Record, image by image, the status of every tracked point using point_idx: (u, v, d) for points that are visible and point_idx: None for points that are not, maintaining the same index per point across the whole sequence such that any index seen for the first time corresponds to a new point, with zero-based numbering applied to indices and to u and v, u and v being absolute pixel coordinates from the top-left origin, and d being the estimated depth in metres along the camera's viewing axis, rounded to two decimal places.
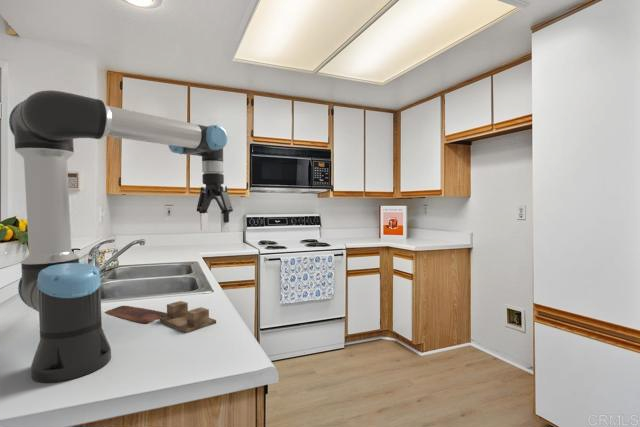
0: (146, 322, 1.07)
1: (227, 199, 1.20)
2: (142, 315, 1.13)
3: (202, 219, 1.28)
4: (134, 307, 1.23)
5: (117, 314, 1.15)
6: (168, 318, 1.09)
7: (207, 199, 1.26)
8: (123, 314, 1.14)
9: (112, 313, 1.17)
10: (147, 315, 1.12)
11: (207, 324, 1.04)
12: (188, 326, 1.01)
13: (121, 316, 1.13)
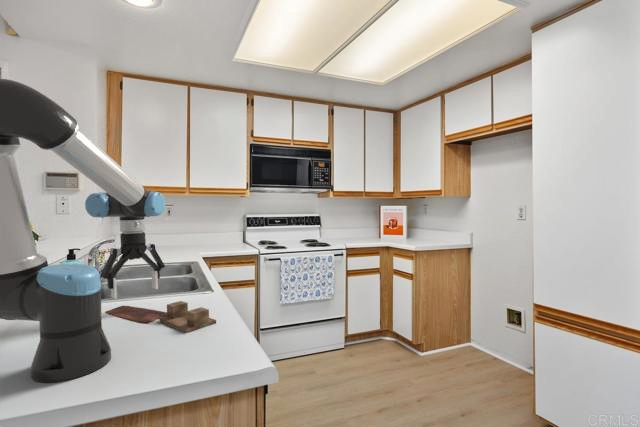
0: (147, 322, 1.07)
1: (107, 264, 1.10)
2: (143, 314, 1.13)
3: (152, 277, 1.23)
4: (134, 307, 1.23)
5: (118, 314, 1.15)
6: (168, 318, 1.09)
7: (142, 257, 1.20)
8: (124, 314, 1.14)
9: (113, 313, 1.17)
10: (148, 315, 1.13)
11: (207, 324, 1.04)
12: (188, 326, 1.01)
13: (122, 316, 1.13)
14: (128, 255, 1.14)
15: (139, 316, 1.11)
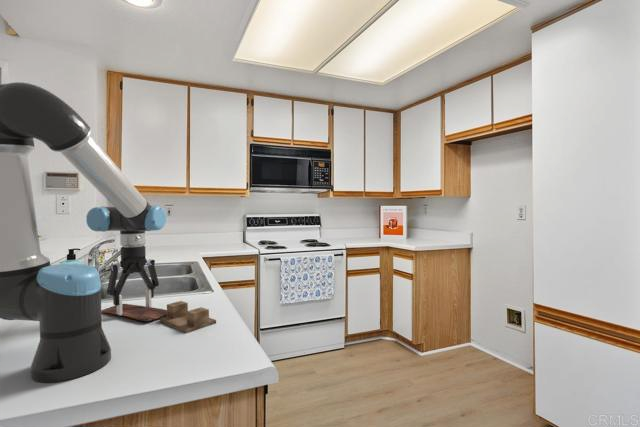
0: (147, 319, 1.07)
1: (110, 281, 1.11)
2: (142, 312, 1.12)
3: (146, 295, 1.21)
4: (133, 305, 1.22)
5: None
6: (168, 318, 1.09)
7: (139, 272, 1.19)
8: (123, 311, 1.14)
9: (111, 311, 1.16)
10: (147, 312, 1.12)
11: (207, 324, 1.04)
12: (188, 326, 1.01)
13: None
14: (129, 269, 1.14)
15: (138, 313, 1.11)
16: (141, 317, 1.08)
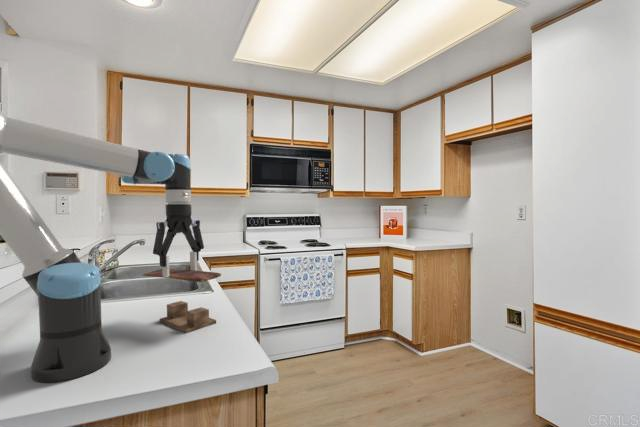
0: (200, 279, 0.99)
1: (157, 239, 1.02)
2: (191, 274, 1.04)
3: (190, 258, 1.12)
4: None
5: (162, 274, 1.06)
6: (168, 318, 1.09)
7: (184, 233, 1.10)
8: None
9: (155, 274, 1.07)
10: (197, 274, 1.04)
11: (207, 324, 1.04)
12: (188, 326, 1.01)
13: None
14: (175, 228, 1.05)
15: (188, 275, 1.02)
16: (193, 278, 0.99)
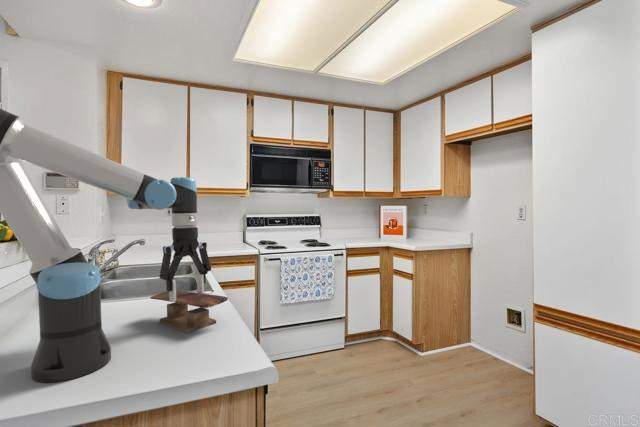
0: (206, 305, 0.98)
1: (164, 264, 1.01)
2: (198, 298, 1.03)
3: (197, 281, 1.11)
4: None
5: None
6: (168, 318, 1.09)
7: (191, 256, 1.09)
8: (176, 298, 1.04)
9: (162, 297, 1.07)
10: (204, 298, 1.03)
11: (207, 324, 1.04)
12: (188, 326, 1.01)
13: None
14: (182, 252, 1.04)
15: (194, 300, 1.01)
16: (199, 303, 0.99)
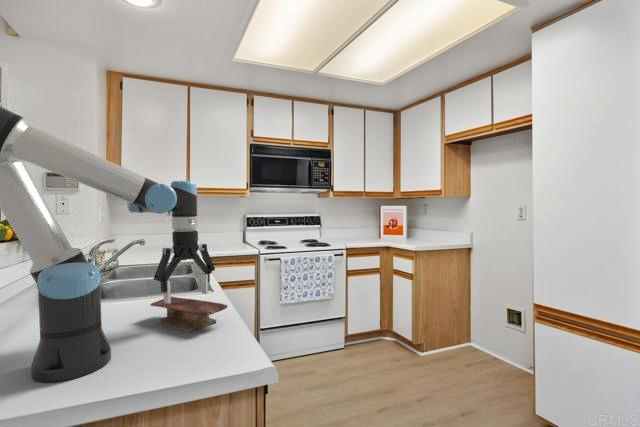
0: (205, 313, 0.98)
1: (161, 265, 1.00)
2: (197, 306, 1.03)
3: (201, 280, 1.13)
4: (183, 298, 1.13)
5: (169, 305, 1.05)
6: (168, 318, 1.09)
7: (193, 258, 1.10)
8: (176, 305, 1.04)
9: (162, 304, 1.07)
10: (203, 306, 1.03)
11: (207, 324, 1.04)
12: (188, 326, 1.01)
13: (174, 307, 1.03)
14: (181, 255, 1.04)
15: (194, 307, 1.01)
16: (198, 311, 0.98)
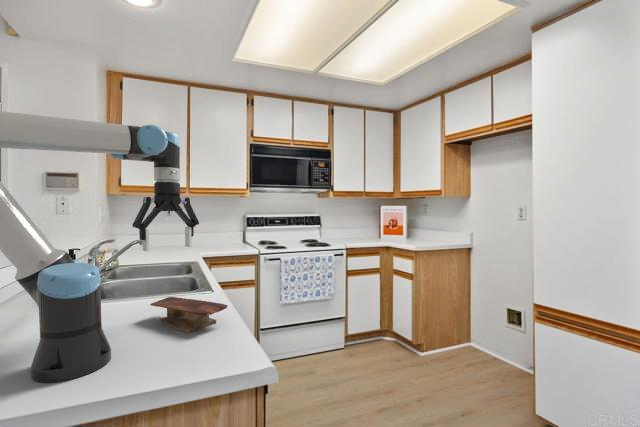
0: (205, 313, 0.98)
1: (140, 212, 1.01)
2: (197, 306, 1.03)
3: (185, 234, 1.13)
4: (183, 298, 1.13)
5: (169, 305, 1.05)
6: (168, 318, 1.09)
7: (176, 211, 1.10)
8: (176, 305, 1.04)
9: (162, 304, 1.07)
10: (203, 306, 1.03)
11: (207, 324, 1.04)
12: (188, 326, 1.01)
13: (174, 307, 1.03)
14: (162, 205, 1.04)
15: (194, 307, 1.01)
16: (198, 311, 0.98)
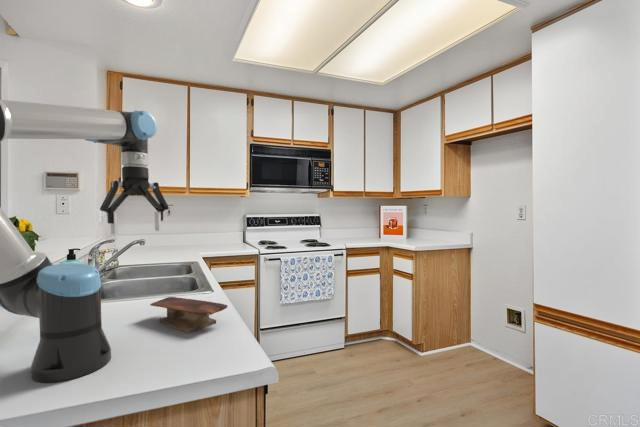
0: (205, 313, 0.98)
1: (107, 196, 1.03)
2: (197, 306, 1.03)
3: (155, 218, 1.15)
4: (183, 298, 1.13)
5: (169, 305, 1.05)
6: (168, 318, 1.09)
7: (145, 196, 1.12)
8: (176, 305, 1.04)
9: (162, 304, 1.07)
10: (203, 306, 1.03)
11: (207, 324, 1.04)
12: (188, 326, 1.01)
13: (174, 307, 1.03)
14: (130, 189, 1.06)
15: (194, 307, 1.01)
16: (198, 311, 0.98)
